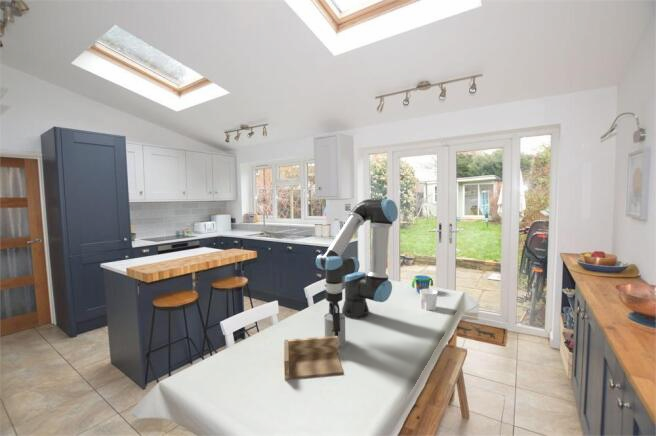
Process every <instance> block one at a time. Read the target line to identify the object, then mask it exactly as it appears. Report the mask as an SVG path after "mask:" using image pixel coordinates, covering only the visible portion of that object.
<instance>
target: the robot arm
mask: <svg viewBox="0 0 656 436" xmlns="http://www.w3.org/2000/svg"><path fill="white" fill-rule="evenodd" d="M398 216H399V211H398V206H397V204H396V202H395V201H394V200H392V199H386V198H382V199H381V198H379V199H377V198H375V199H373V198H372V199H369V198H368V199H364V200H363V201H361V202H359V203H357V205H356V206H354V207H353V209H352V210H351V211H350V212H349V214H348V218H347V220H346V221H345V223H344V225H343V226H342V228H340V231H339V232H337V235H336V236H335V238H334V239H333V240H332V242H331V244H330V245H329V246H328V248H327V249H326V251H325V252H324V253H320V254H318V255H317V256H316V258H315V264H316V267H317V268H318V269H321V270H324V271H325V284H324V287H325V300H326V301H327V302H329V303H328V313H330V314H331V315H332V316H333V330H332V332H333V336H338V345H339V332H340V316H339V313H340V311H341V313H342V314H344V315H345V318H346V317H347V318H349V319H362V318H363V319H364V318H366V317H368V316H369V315H370V309H369V306H368V303H367V300H370V301H374V302H376V303H377V302H379V303H385V302H387V301H388V299H389V298H390V297H391V294H392V291H393V284H392V282H391V281H390V280H389V276H388V274H387V273H386V272H387V262H388V249H389V235H390V228H391V227H392V226H393V223H394V222H395V221H397V218H398ZM367 221H370V225H371V226H372V235H371V248H370V249H371V250H370V261H369V262H370V263H369V271H368V272H367V273H366V272H365V271H359V269H360V265H361V264H360V261H359V259H358V258H356V257H355V256H350V257H344V256H342V254H344V251H345V250H346V248H347V247H348V246H349V243H350V242H351V241H352V239H353V237H354V236H355V234H356V233H357V231H358V230H359V228H360V227H361V226H363V225H364V224H365V222H367ZM343 277H344V285H343ZM343 286H344V303H343V305H342V307H341V308H342V309H341V310H340V304H339V303H340V302H341V301H342V300H343Z"/></svg>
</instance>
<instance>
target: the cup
mask: <svg viewBox="0 0 656 436" xmlns="http://www.w3.org/2000/svg"><path fill="white" fill-rule="evenodd" d="M419 298H420V307H421V310H422V309H423V310H425V311H434V310H436V308H437V299H438V291H437V290H435V289H432V288H429V289H421V290H420V292H419Z"/></svg>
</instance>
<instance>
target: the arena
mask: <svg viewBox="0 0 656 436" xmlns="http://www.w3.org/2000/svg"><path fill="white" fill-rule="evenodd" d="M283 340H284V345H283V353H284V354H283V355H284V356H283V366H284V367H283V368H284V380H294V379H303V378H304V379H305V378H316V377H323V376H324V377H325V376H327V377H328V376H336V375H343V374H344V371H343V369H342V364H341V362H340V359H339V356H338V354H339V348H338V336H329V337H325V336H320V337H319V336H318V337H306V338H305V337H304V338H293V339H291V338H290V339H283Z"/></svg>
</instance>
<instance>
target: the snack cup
mask: <svg viewBox="0 0 656 436" xmlns="http://www.w3.org/2000/svg"><path fill="white" fill-rule="evenodd" d="M430 286H431V287H433V286H434V281H433V278H432V277H430V276H427V275H423V274H422V275H415V276H414V278H413V279H412V282H411V288H413V289H415V287H416V292H417V293H420V290H421V289H430Z"/></svg>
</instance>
